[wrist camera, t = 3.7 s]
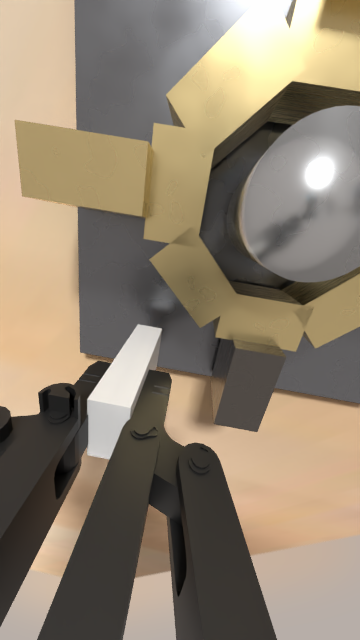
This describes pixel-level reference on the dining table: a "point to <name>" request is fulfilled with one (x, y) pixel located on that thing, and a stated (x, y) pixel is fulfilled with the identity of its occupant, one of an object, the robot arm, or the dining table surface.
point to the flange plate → (212, 195)
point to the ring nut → (193, 176)
